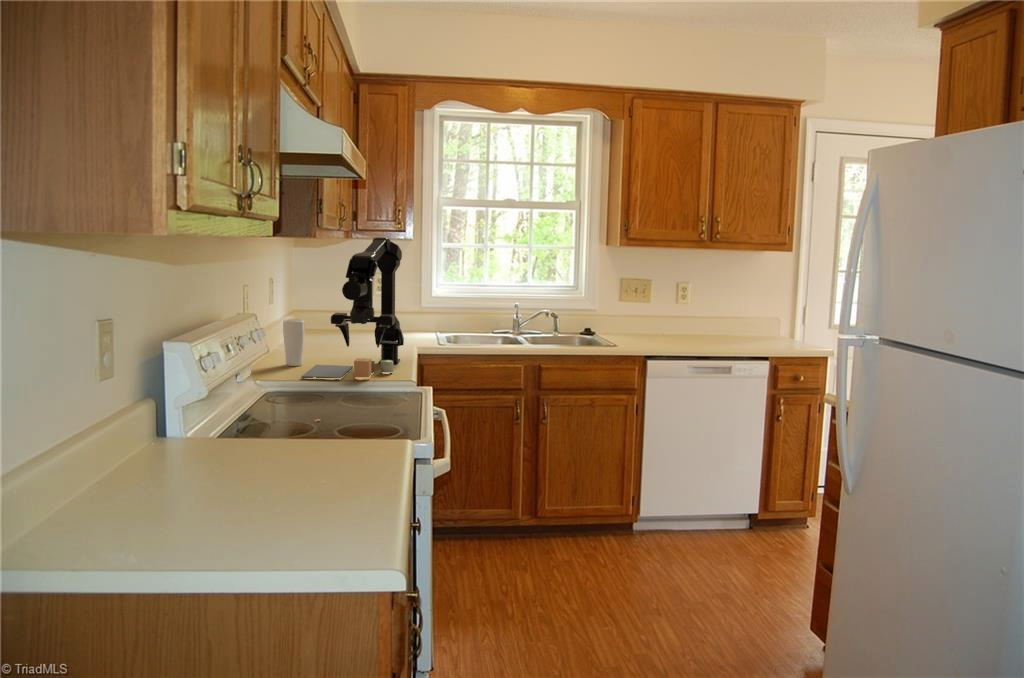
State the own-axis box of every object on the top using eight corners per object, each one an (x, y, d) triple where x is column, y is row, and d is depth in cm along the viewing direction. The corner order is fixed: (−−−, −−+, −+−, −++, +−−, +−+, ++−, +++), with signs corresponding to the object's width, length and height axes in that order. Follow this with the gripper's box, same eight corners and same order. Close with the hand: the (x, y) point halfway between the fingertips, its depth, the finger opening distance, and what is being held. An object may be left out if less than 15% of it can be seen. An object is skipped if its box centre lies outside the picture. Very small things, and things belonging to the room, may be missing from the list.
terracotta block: (357, 377, 247) (357, 358, 246) (371, 377, 247) (371, 358, 246) (354, 380, 243) (354, 360, 242) (368, 380, 243) (368, 361, 242)
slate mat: (316, 367, 259) (316, 364, 259) (352, 368, 259) (352, 365, 259) (301, 379, 241) (301, 376, 241) (340, 380, 241) (340, 377, 241)
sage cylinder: (381, 371, 256) (381, 359, 255) (394, 372, 256) (394, 360, 255) (379, 374, 252) (379, 362, 251) (392, 374, 252) (392, 362, 251)
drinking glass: (282, 363, 263) (281, 319, 261) (302, 362, 266) (302, 318, 264) (285, 367, 257) (284, 322, 255) (306, 366, 260) (306, 321, 258)
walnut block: (361, 372, 254) (362, 360, 253) (374, 373, 254) (374, 360, 253) (359, 375, 250) (359, 362, 249) (372, 375, 250) (372, 363, 249)
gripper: (326, 298, 233) (326, 350, 236) (389, 300, 233) (389, 352, 236) (334, 294, 244) (335, 344, 247) (395, 296, 244) (394, 346, 247)
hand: (363, 346), depth 243 cm, fingers open, 9 cm apart
